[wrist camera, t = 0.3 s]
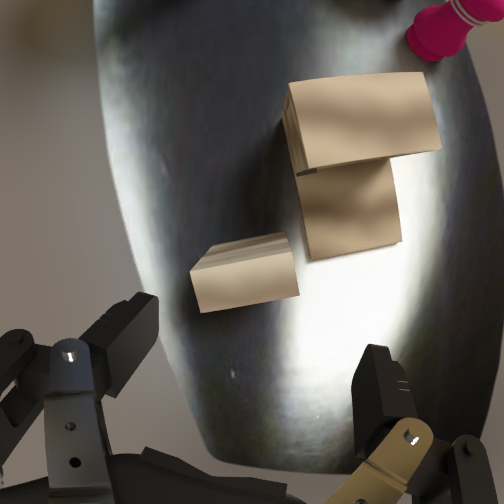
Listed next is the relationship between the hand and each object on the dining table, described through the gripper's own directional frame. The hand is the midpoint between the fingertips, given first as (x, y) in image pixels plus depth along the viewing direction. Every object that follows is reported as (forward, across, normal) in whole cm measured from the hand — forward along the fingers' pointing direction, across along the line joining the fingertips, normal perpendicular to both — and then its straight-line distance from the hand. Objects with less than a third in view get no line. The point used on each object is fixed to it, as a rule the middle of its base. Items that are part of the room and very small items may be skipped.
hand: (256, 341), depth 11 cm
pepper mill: (+35, -14, -25) cm, 45 cm away
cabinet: (+30, -5, -3) cm, 30 cm away
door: (+27, +4, +8) cm, 28 cm away
